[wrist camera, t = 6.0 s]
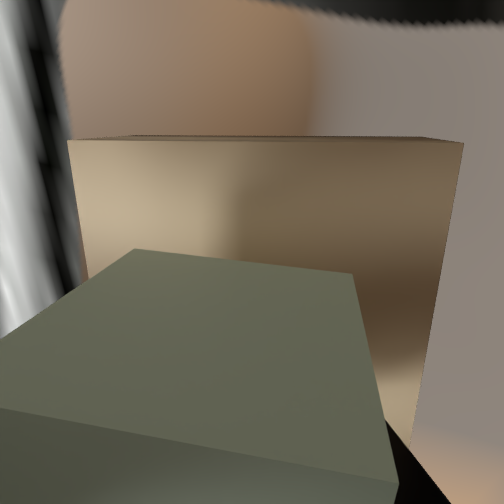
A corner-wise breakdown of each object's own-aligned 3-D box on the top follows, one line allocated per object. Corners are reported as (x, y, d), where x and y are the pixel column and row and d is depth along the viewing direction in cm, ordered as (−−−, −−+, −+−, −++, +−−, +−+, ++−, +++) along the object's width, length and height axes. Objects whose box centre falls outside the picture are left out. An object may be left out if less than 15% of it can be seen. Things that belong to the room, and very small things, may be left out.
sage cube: (323, 449, 10) (328, 751, 5) (142, 416, 10) (-1, 656, 6) (352, 273, 8) (398, 483, 3) (134, 248, 9) (-78, 392, 4)
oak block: (384, 387, 16) (405, 470, 12) (157, 362, 17) (112, 430, 13) (419, 136, 12) (464, 142, 8) (135, 135, 14) (66, 140, 10)
